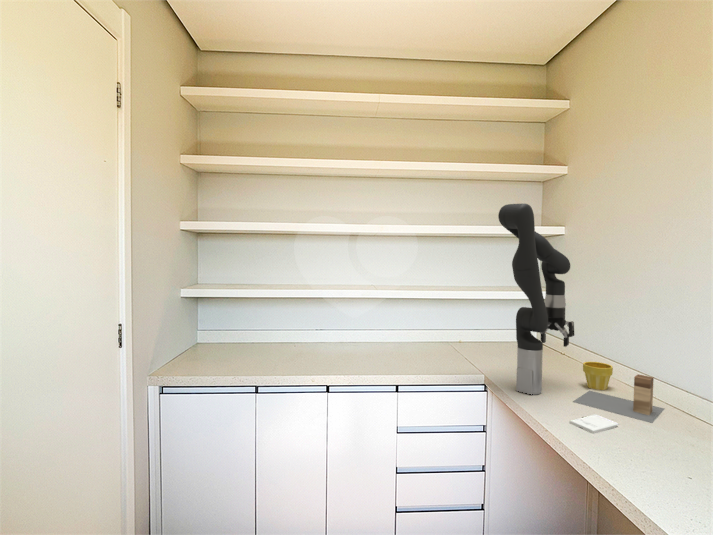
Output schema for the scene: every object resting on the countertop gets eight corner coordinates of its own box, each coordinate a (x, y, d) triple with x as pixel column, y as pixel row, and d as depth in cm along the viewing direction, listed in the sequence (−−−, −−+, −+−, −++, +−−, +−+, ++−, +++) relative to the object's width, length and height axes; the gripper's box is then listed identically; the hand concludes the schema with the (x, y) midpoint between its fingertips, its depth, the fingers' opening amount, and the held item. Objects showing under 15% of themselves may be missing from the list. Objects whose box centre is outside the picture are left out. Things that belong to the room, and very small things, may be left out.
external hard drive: (619, 428, 127) (593, 435, 122) (594, 418, 134) (569, 424, 129) (619, 423, 126) (593, 430, 121) (594, 413, 134) (569, 419, 129)
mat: (652, 425, 128) (652, 423, 128) (572, 403, 146) (572, 401, 146) (664, 410, 140) (664, 408, 140) (589, 391, 158) (589, 390, 158)
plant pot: (581, 382, 169) (582, 359, 168) (609, 386, 164) (610, 363, 164) (583, 390, 160) (584, 366, 159) (613, 394, 155) (614, 369, 155)
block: (648, 415, 134) (650, 380, 133) (633, 411, 137) (634, 376, 137) (652, 411, 137) (653, 377, 136) (636, 407, 140) (637, 374, 140)
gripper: (533, 304, 165) (533, 343, 166) (570, 308, 154) (569, 349, 155) (541, 302, 170) (540, 339, 171) (577, 306, 159) (576, 345, 160)
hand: (554, 344), depth 163 cm, fingers open, 8 cm apart
